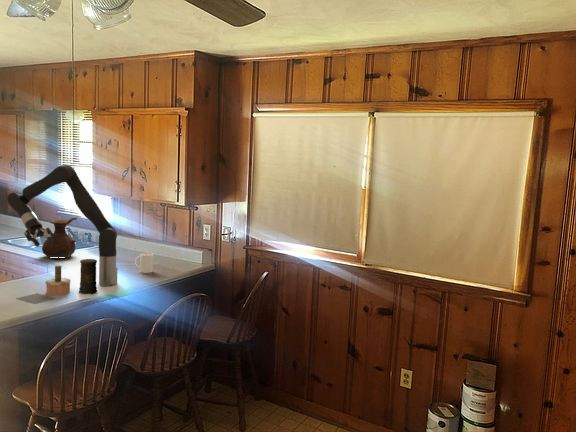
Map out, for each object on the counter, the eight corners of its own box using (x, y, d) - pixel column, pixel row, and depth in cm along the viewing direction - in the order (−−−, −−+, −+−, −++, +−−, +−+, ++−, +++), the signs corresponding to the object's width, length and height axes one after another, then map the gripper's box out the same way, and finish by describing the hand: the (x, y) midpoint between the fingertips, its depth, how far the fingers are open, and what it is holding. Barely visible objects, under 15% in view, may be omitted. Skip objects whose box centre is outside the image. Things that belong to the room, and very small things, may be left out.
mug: (132, 272, 300) (132, 254, 299) (137, 269, 309) (138, 252, 307) (150, 274, 299) (150, 256, 298) (155, 271, 308) (155, 253, 307)
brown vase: (54, 262, 316) (54, 218, 313) (35, 257, 327) (35, 215, 323) (82, 257, 335) (83, 216, 331) (64, 253, 345) (64, 213, 342)
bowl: (60, 289, 255) (60, 278, 255) (74, 292, 251) (74, 281, 250) (41, 293, 246) (41, 282, 245) (56, 297, 241) (56, 286, 240)
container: (75, 292, 251) (75, 260, 249) (90, 289, 258) (91, 257, 256) (85, 296, 246) (85, 262, 244) (100, 292, 254) (100, 260, 252)
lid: (60, 278, 255) (60, 262, 254) (75, 281, 250) (75, 266, 249) (40, 282, 245) (40, 266, 244) (55, 286, 240) (55, 269, 239)
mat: (37, 294, 244) (37, 293, 244) (56, 299, 238) (56, 298, 238) (15, 299, 233) (15, 298, 233) (34, 305, 227) (34, 304, 227)
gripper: (22, 218, 249) (36, 242, 246) (46, 216, 262) (60, 238, 259) (16, 227, 252) (30, 250, 249) (39, 224, 265) (53, 246, 261)
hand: (45, 244), depth 254 cm, fingers open, 8 cm apart
